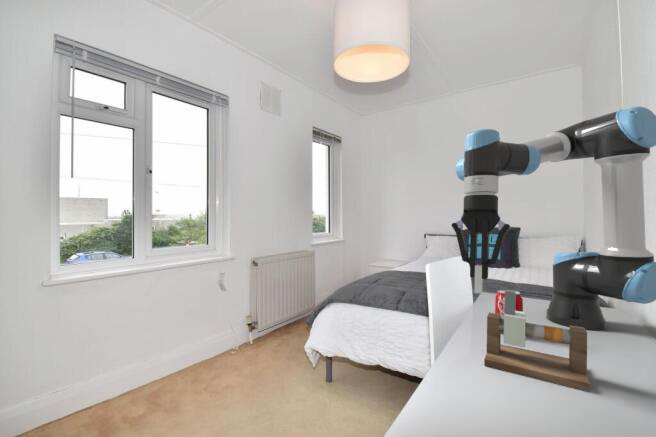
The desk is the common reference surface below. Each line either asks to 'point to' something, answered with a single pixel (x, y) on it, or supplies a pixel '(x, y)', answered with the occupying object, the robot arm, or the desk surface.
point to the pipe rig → (540, 354)
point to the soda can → (501, 303)
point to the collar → (513, 321)
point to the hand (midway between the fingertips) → (478, 292)
